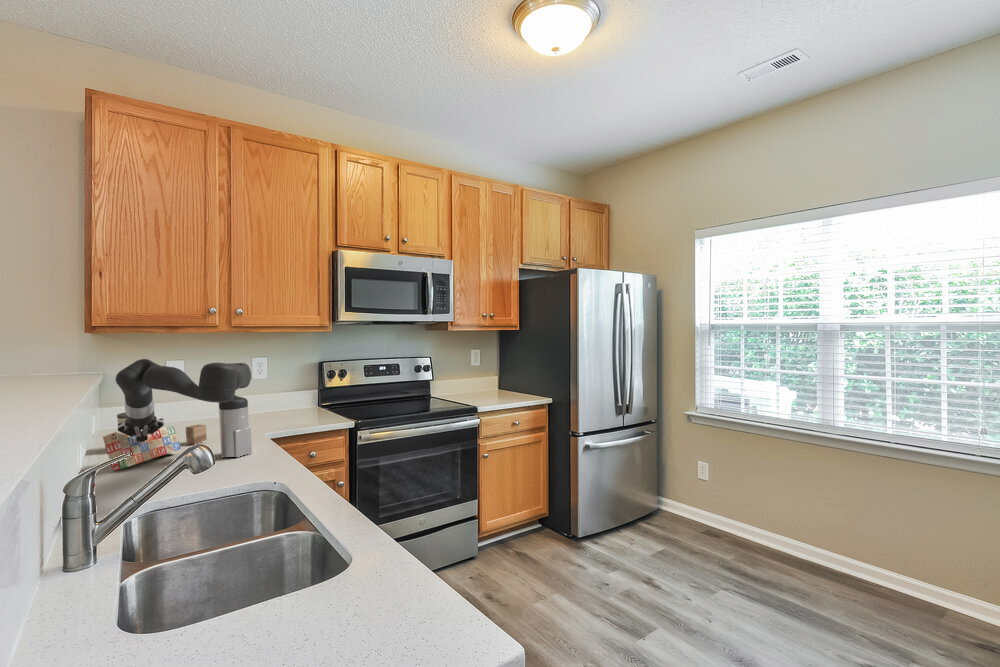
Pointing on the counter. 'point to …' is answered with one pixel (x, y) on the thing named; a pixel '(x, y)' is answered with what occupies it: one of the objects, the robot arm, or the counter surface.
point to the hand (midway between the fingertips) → (142, 440)
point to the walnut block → (195, 434)
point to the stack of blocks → (140, 446)
